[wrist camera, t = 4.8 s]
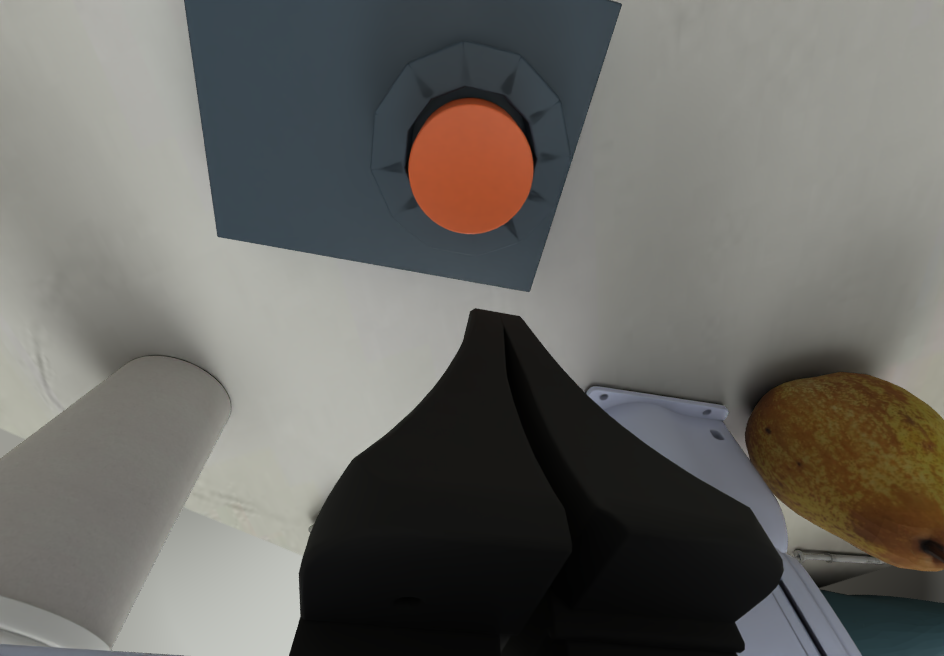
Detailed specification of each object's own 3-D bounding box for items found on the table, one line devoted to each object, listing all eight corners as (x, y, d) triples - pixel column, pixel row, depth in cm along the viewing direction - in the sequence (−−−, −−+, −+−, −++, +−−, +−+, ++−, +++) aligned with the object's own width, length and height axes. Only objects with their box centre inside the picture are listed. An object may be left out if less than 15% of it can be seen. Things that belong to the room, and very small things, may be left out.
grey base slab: (604, 9, 15) (642, -3, 12) (524, 271, 21) (535, 312, 18) (206, -99, 14) (122, -148, 10) (240, 219, 20) (194, 253, 16)
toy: (756, 741, 34) (759, 714, 44) (1214, 717, 25) (1083, 691, 36) (696, 586, 41) (711, 595, 51) (1040, 526, 32) (973, 551, 43)
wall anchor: (800, 548, 37) (806, 561, 36) (885, 553, 38) (892, 565, 37) (792, 551, 37) (797, 563, 37) (875, 555, 38) (881, 567, 38)
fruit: (852, 436, 29) (1058, 641, 19) (716, 454, 30) (845, 659, 20) (898, 337, 24) (1209, 540, 14) (736, 361, 25) (918, 569, 15)
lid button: (539, 112, 14) (550, 120, 12) (510, 224, 16) (515, 244, 14) (422, 84, 14) (416, 89, 12) (408, 204, 16) (401, 222, 14)
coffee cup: (173, 309, 22) (-201, 635, 10) (288, 421, 27) (136, 736, 15) (52, 368, 24) (-381, 699, 12) (179, 463, 29) (-34, 768, 17)
